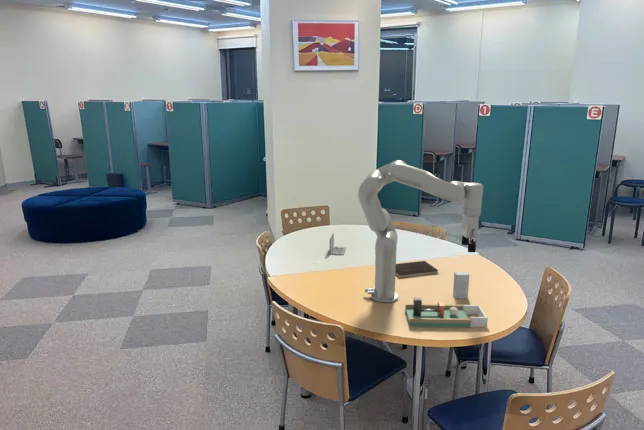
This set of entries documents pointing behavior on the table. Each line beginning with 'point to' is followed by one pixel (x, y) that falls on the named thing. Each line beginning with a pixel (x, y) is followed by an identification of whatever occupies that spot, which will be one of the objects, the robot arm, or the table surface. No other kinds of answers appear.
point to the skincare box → (461, 285)
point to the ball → (453, 311)
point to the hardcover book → (414, 269)
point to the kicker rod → (418, 305)
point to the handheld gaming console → (334, 249)
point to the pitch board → (437, 317)
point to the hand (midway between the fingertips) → (468, 248)
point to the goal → (476, 321)
